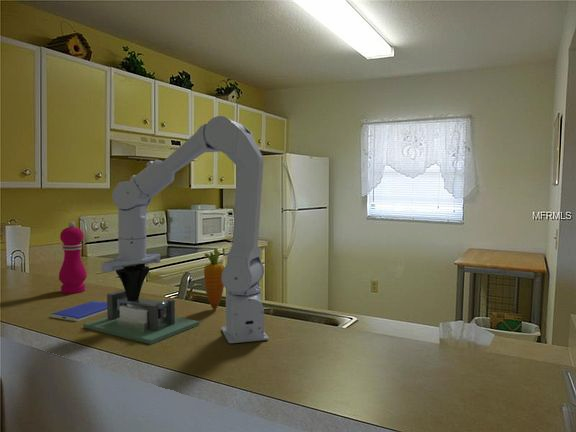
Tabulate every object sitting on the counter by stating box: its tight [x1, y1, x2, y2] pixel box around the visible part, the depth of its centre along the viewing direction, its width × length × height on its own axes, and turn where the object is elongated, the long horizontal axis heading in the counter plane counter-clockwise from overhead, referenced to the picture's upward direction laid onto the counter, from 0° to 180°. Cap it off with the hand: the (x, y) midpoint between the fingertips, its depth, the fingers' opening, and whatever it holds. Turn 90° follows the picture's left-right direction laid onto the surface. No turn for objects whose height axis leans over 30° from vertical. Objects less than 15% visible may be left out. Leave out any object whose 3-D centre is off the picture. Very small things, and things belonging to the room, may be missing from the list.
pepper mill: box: [58, 221, 88, 295], centre depth 127 cm, size 7×7×20 cm
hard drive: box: [50, 300, 107, 322], centre depth 107 cm, size 2×8×12 cm
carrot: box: [203, 248, 225, 310], centre depth 110 cm, size 5×5×15 cm
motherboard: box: [82, 316, 200, 345], centre depth 96 cm, size 20×14×1 cm
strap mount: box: [106, 289, 176, 331], centre depth 97 cm, size 15×6×6 cm, turn 61°
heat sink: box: [117, 304, 167, 332], centre depth 96 cm, size 8×8×4 cm
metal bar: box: [117, 297, 170, 310], centre depth 96 cm, size 13×3×3 cm, turn 61°
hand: (132, 299), depth 97 cm, fingers closed, pressing on metal bar
